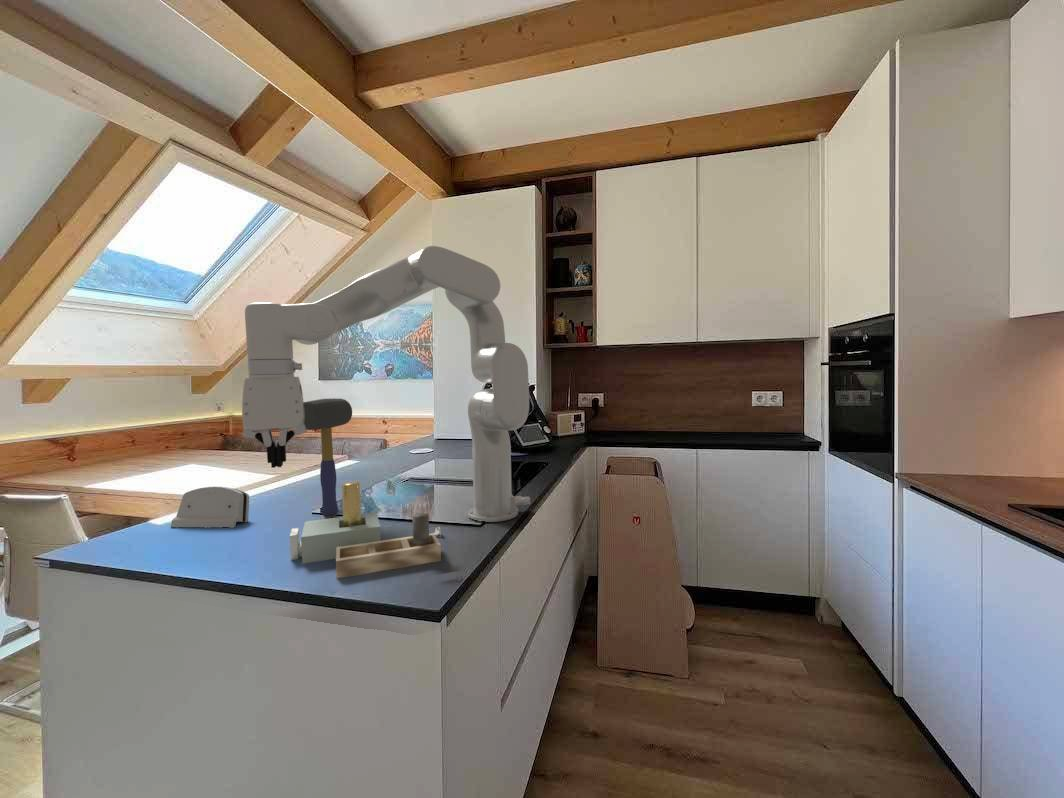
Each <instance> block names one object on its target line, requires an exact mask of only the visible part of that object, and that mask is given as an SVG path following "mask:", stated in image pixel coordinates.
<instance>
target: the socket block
mask: <svg viewBox="0 0 1064 798" xmlns="http://www.w3.org/2000/svg"><path fill="white" fill-rule="evenodd" d="M361 524H362V525H358V526H351V527H344V525H343V516H338V517H337V516H336V517H333V518H322V519H316V520H315V519H314V520H305V521H304V525H303V528H302V532H301V536H300V539H301V540H300V542H301V545H302V557H301V558H302V559H301V561H302V565H304V564H309V563H317V562H323V561H330V560H334V559H335V560H336V547H341V546H348V545H355V544H362V543H369V542H376V541H382V540H381V538H382V537H381V524H380V521H379V516H378V512H370V513H363V514H362V513H361Z"/></svg>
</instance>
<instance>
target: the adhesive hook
mask: <svg viewBox="0 0 1064 798" xmlns="http://www.w3.org/2000/svg"><path fill="white" fill-rule="evenodd" d="M434 534H435V536H436V538H441V535H442V533H441V528H440V527H439V526H438V527H435V531H434Z"/></svg>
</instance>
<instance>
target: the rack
mask: <svg viewBox="0 0 1064 798" xmlns="http://www.w3.org/2000/svg"><path fill="white" fill-rule="evenodd" d="M429 516H430V515H429V513H427V512H418V513H413V515H412V516H411V517H412V535H411V536H402V537H398V538H396V537H395V538H391V539H383V540H381V541H376V542H369V543H362V544H355V545H348V546H341V547H336V559H335V568H336V579H341V578H347V577H353V576H360V575H366V574H371V573H378V572H383V571H388V570H393V569H395V570H396V569H402V568H406V567H411V566H419V565H425V564H431V563H436V562H442V549H441V548H442V547H441V546H442V545H441V543H440V540H438V537H437V535H435V532H432V533H430V521H429V520H430V519H429Z"/></svg>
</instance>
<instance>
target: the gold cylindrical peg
mask: <svg viewBox="0 0 1064 798" xmlns="http://www.w3.org/2000/svg"><path fill="white" fill-rule="evenodd" d="M341 499H342V517H343V525H344V527H351V526H358V525H362V524H361V514H362V512H361V511H362V506H361V505H362V504H361V503H362V502H361V483H360V481H346V482H343V483H341Z"/></svg>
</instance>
